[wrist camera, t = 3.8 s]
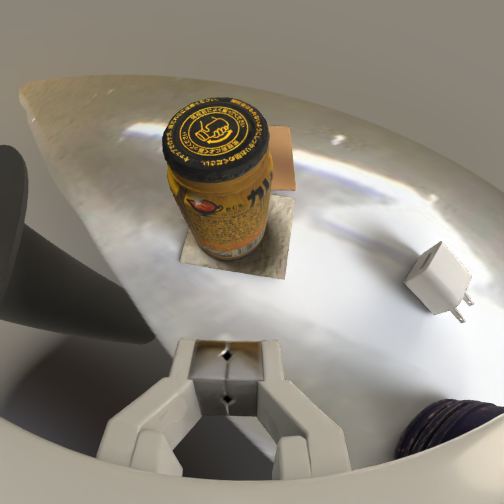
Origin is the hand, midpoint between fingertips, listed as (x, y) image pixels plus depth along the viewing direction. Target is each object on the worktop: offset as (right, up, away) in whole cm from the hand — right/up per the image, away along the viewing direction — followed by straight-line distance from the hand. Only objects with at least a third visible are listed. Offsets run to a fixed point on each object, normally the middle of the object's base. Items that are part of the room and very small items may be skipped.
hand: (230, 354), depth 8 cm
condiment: (0, +5, +15) cm, 16 cm away
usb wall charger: (+18, -1, +14) cm, 22 cm away
